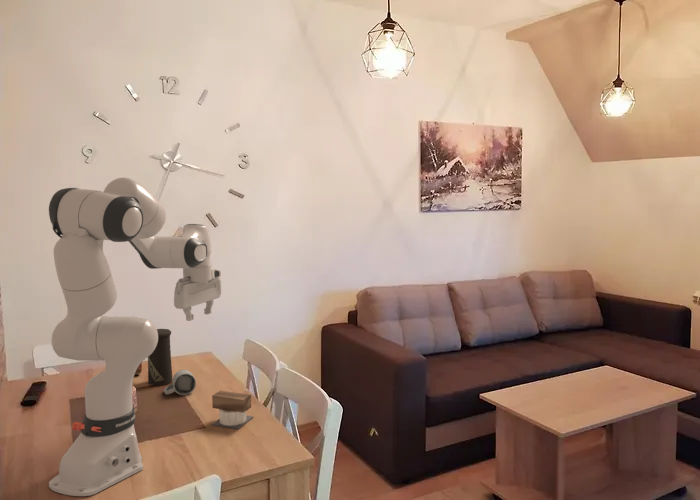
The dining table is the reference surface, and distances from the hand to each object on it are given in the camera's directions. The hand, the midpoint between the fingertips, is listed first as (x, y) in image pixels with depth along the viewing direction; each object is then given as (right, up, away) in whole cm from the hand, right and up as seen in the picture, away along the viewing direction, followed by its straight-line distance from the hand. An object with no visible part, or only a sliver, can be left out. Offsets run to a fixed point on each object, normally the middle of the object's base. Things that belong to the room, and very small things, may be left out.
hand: (199, 317), depth 177 cm
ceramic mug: (-12, -29, +18) cm, 36 cm away
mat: (+12, -31, -7) cm, 34 cm away
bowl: (+12, -31, -7) cm, 34 cm away
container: (-22, -28, +29) cm, 46 cm away
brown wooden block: (+12, -27, -8) cm, 31 cm away
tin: (-37, -27, +40) cm, 61 cm away
